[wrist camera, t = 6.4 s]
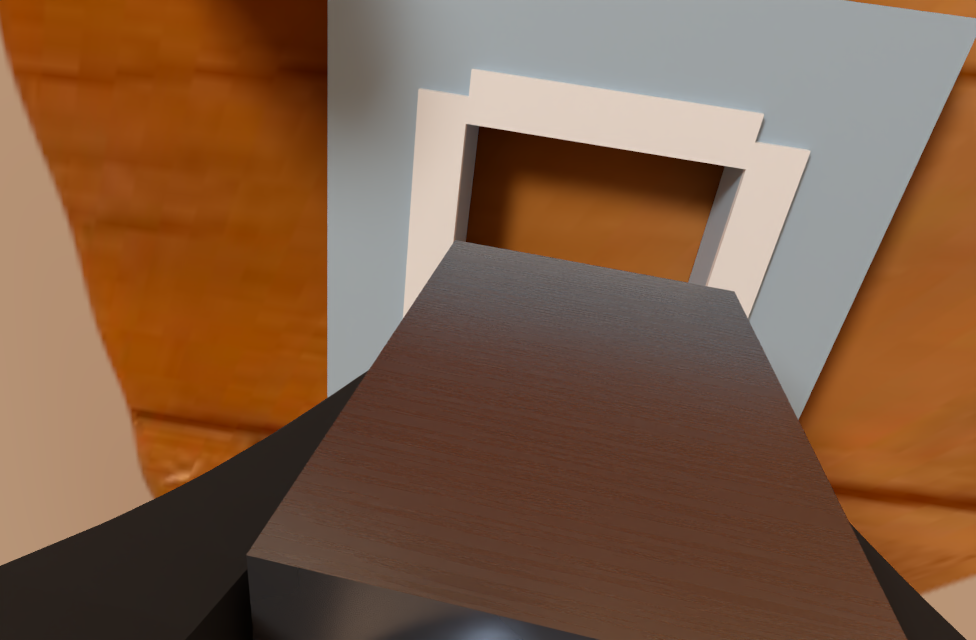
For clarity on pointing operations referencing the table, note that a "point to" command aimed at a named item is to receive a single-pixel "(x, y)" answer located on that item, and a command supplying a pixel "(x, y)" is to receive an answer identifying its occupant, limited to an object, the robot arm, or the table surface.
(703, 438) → the lens block
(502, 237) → the table surface
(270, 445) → the robot arm
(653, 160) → the table surface
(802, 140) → the mount plate
